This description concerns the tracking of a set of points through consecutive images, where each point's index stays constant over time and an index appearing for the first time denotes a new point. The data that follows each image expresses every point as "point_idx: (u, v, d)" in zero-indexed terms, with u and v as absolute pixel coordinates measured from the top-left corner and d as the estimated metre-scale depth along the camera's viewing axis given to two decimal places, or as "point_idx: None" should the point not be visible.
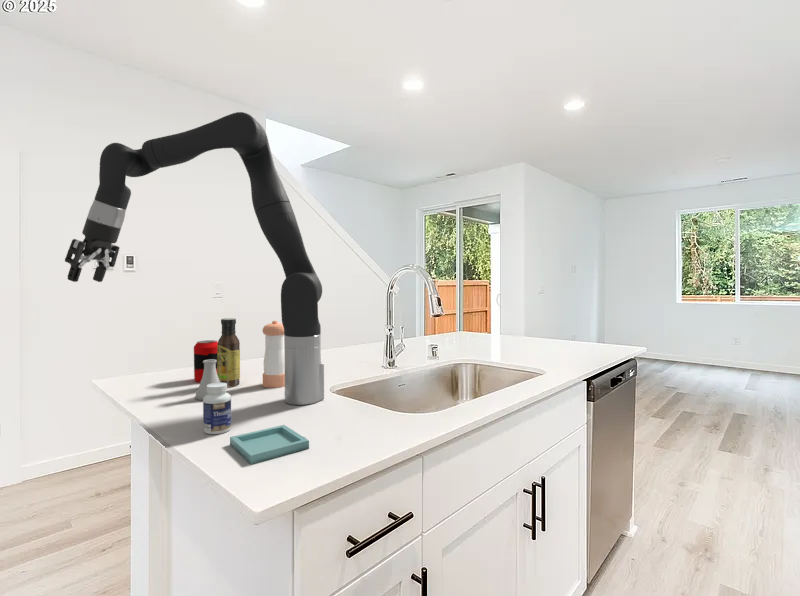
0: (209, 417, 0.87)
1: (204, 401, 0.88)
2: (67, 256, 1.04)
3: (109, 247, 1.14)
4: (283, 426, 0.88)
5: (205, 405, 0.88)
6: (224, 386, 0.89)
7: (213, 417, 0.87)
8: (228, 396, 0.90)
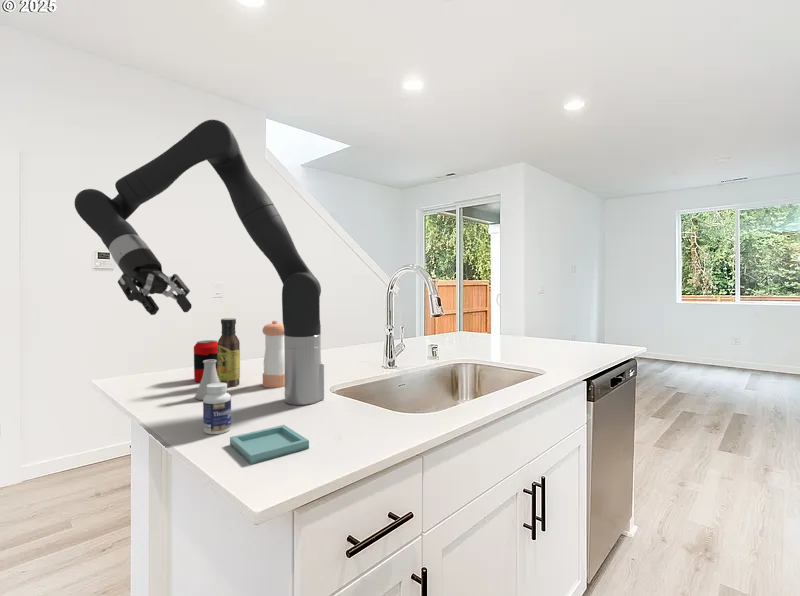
0: (209, 417, 0.87)
1: (204, 401, 0.88)
2: (127, 295, 0.90)
3: (164, 275, 1.00)
4: (283, 426, 0.88)
5: (205, 405, 0.88)
6: (224, 386, 0.89)
7: (213, 417, 0.87)
8: (228, 396, 0.90)
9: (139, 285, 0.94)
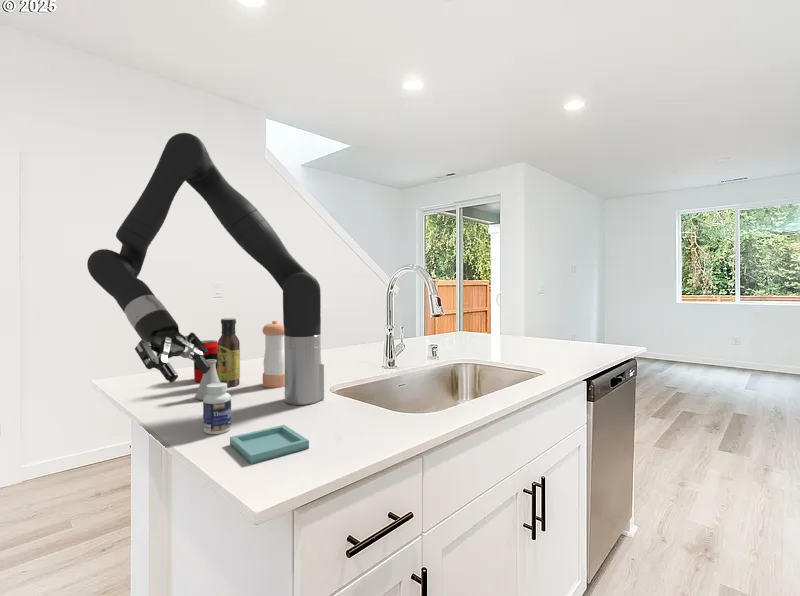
0: (209, 417, 0.87)
1: (204, 401, 0.88)
2: (145, 363, 0.87)
3: (181, 336, 0.97)
4: (283, 426, 0.88)
5: (205, 405, 0.88)
6: (224, 386, 0.89)
7: (213, 417, 0.87)
8: (228, 396, 0.90)
9: (157, 350, 0.91)
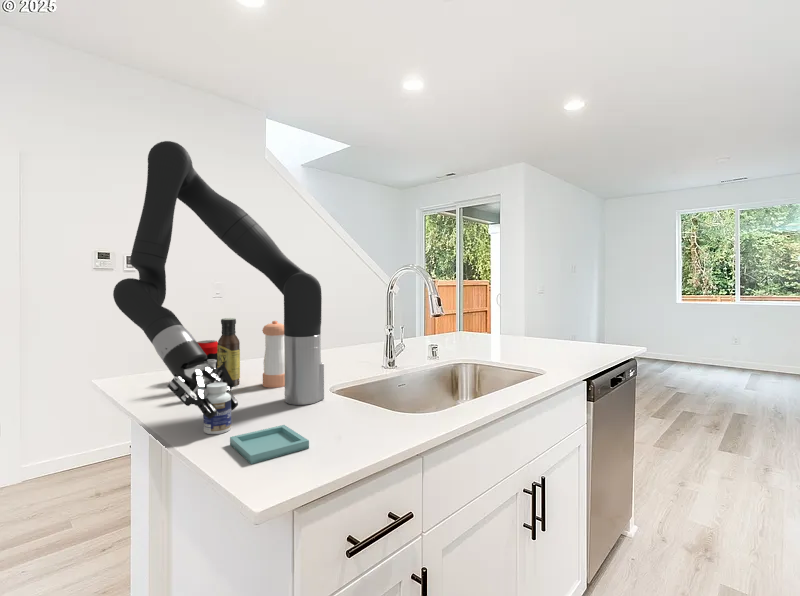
0: None
1: None
2: (183, 400, 0.85)
3: (210, 367, 0.94)
4: (283, 426, 0.88)
5: None
6: (224, 386, 0.89)
7: (213, 417, 0.87)
8: (228, 396, 0.90)
9: (189, 385, 0.89)
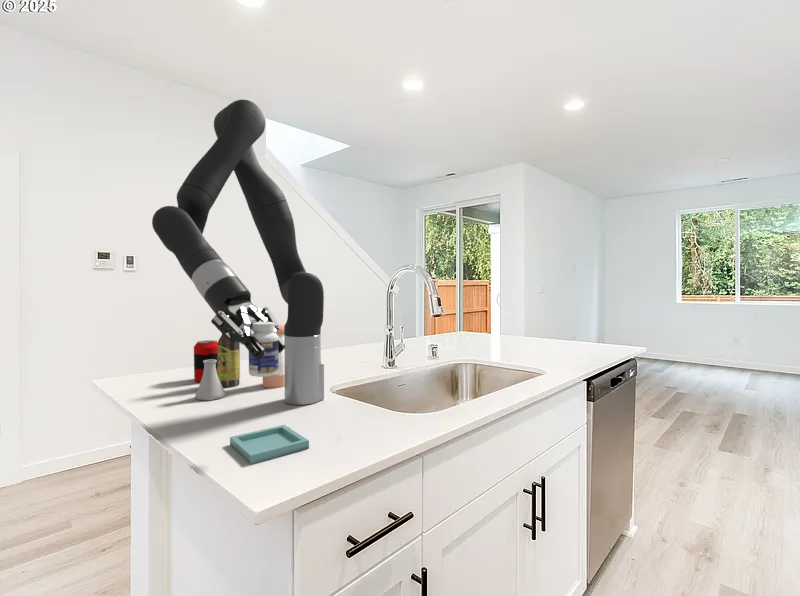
0: None
1: None
2: (228, 337, 0.76)
3: (254, 306, 0.85)
4: (283, 426, 0.88)
5: None
6: (272, 324, 0.80)
7: None
8: (276, 336, 0.81)
9: (233, 322, 0.80)
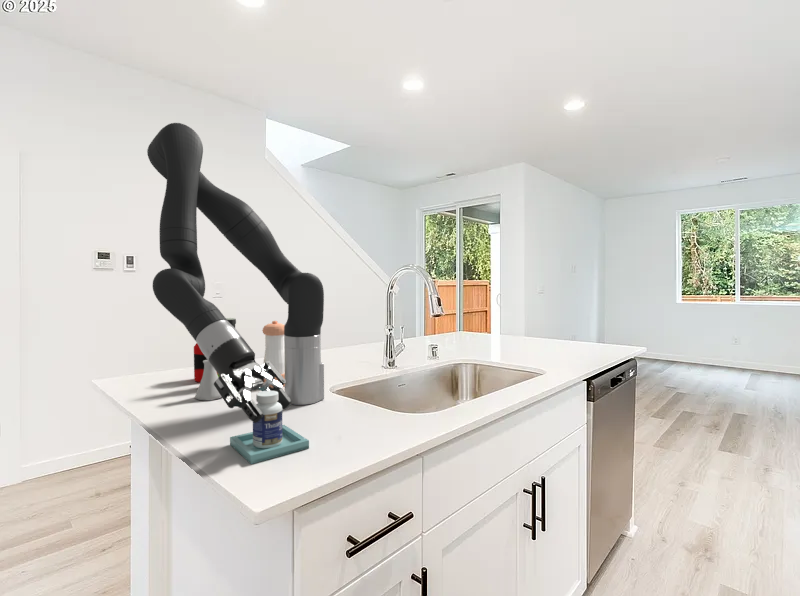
0: (260, 429, 0.79)
1: None
2: (226, 401, 0.76)
3: (258, 366, 0.86)
4: (283, 426, 0.88)
5: None
6: (276, 395, 0.81)
7: (264, 429, 0.79)
8: (280, 406, 0.81)
9: (236, 384, 0.80)
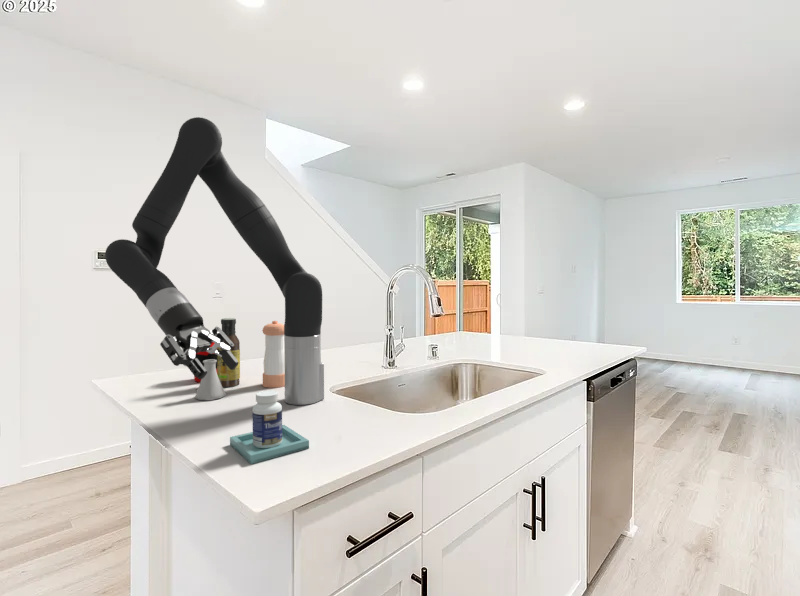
0: (259, 429, 0.79)
1: (254, 412, 0.79)
2: (172, 359, 0.82)
3: (206, 330, 0.91)
4: (283, 426, 0.88)
5: (256, 416, 0.79)
6: (275, 395, 0.81)
7: (264, 429, 0.79)
8: (279, 406, 0.81)
9: (183, 345, 0.86)
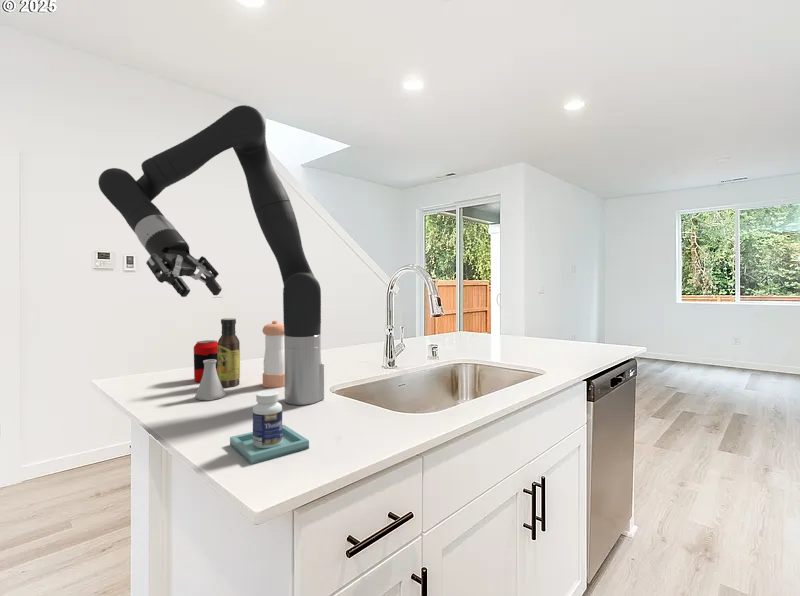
0: (259, 429, 0.79)
1: (254, 412, 0.79)
2: (156, 276, 0.86)
3: (192, 257, 0.96)
4: (283, 426, 0.88)
5: (256, 416, 0.79)
6: (276, 395, 0.81)
7: (264, 429, 0.79)
8: (280, 406, 0.81)
9: (168, 267, 0.90)
